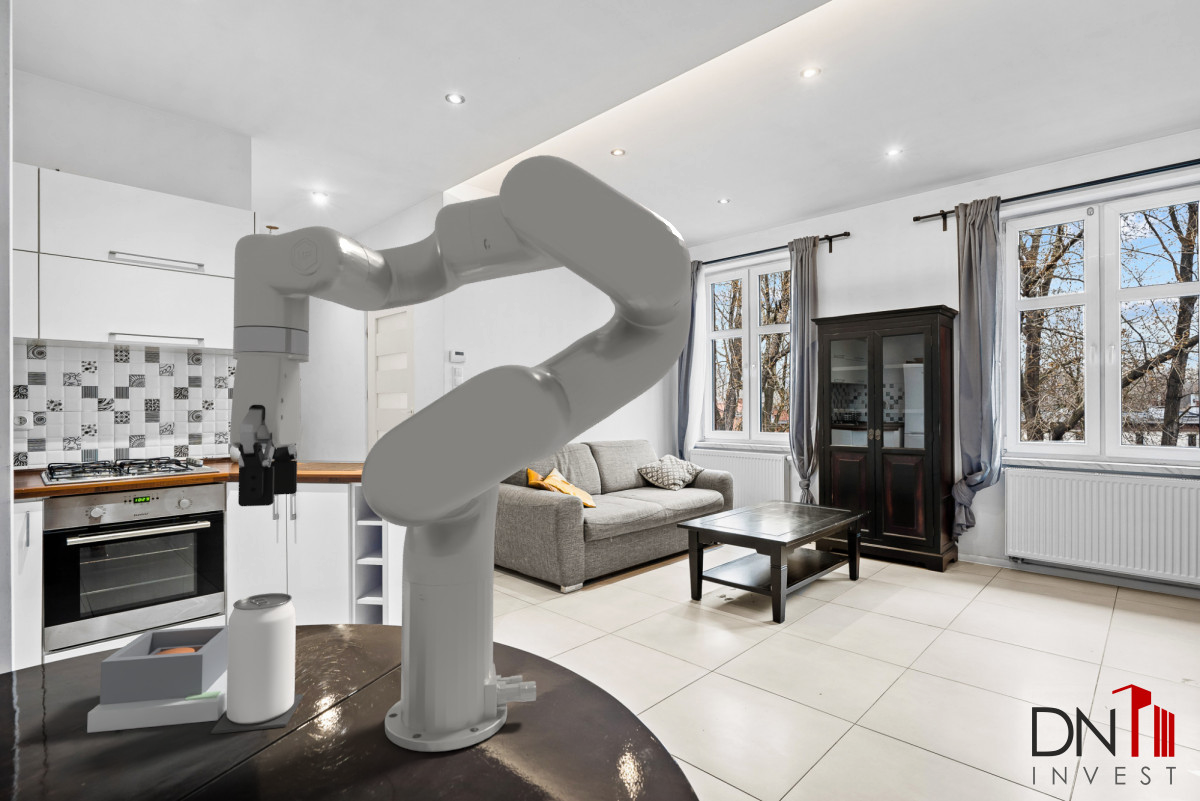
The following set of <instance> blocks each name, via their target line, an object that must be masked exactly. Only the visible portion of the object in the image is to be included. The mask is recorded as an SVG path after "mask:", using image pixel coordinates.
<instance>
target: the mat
mask: <svg viewBox="0 0 1200 801" xmlns="http://www.w3.org/2000/svg"><path fill="white" fill-rule="evenodd" d="M303 698H304V693H296V694H294V704H293V705H292V707H291V708H290V709H289V710H288V711H287V712H286V713H285V714H283V715H282V716H280V717H278V718H275V719H273V720H270V721H267V722H264V723H259V724H251V725H241V724H236V723H233V722H232V721H231V720H230V719H228V717H227V711H225V713H224V715H222V716H221V717H220V720H218V722H217V724H215V726H214V727H213V729H211V730H210V734H211V735H218V734H225V733H226V734H227V733H235V732H245V731H247V732H248V731H257V730H264V729H265V730H266V729H276V728H284V727H285V728H286V727H287V725H288V723H289V721H290V720H291V718H292V717H293V715H294V713H295V712H296V710H297V708H298V706H299V705H300V703H301V701H302V699H303Z"/></svg>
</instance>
